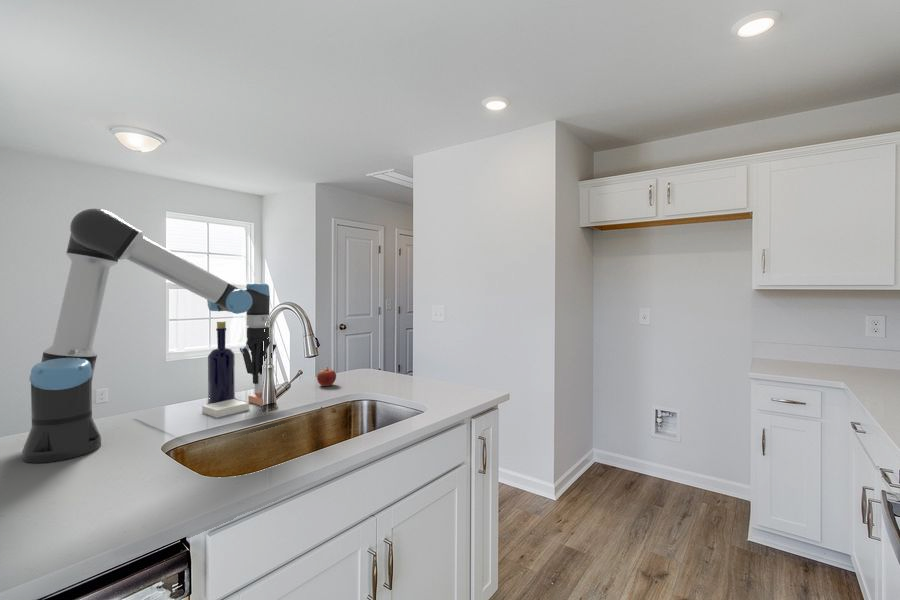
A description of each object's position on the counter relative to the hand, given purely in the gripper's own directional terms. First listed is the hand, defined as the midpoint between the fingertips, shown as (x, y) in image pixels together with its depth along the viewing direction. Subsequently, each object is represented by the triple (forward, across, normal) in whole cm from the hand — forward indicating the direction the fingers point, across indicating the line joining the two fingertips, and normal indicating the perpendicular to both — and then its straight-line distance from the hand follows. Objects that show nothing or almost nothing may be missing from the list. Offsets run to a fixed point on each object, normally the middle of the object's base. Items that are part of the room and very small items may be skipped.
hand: (258, 392), depth 155 cm
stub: (+4, +1, 0) cm, 4 cm away
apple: (+5, +36, +7) cm, 37 cm away
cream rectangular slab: (+4, -12, 0) cm, 12 cm away
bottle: (+5, -6, +15) cm, 17 cm away
